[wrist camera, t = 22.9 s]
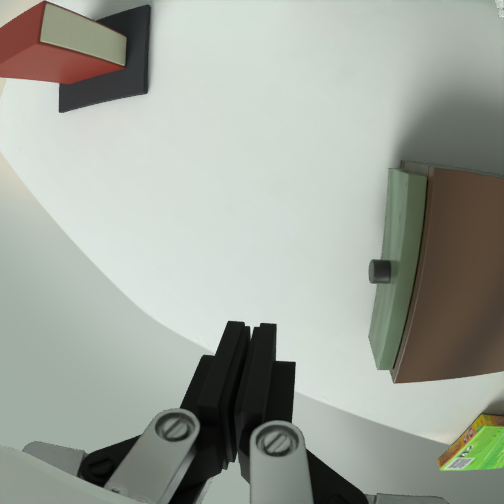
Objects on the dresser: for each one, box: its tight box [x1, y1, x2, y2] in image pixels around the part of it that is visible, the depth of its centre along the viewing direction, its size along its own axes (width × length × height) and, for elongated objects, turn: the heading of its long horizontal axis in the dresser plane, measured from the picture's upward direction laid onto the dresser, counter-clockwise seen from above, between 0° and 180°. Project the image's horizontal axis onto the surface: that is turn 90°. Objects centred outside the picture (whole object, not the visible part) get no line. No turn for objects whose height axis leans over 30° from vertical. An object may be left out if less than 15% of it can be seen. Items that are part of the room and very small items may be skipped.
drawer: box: [368, 168, 428, 370], centre depth 19 cm, size 15×13×4 cm
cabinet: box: [390, 160, 504, 383], centre depth 19 cm, size 15×15×6 cm
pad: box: [59, 5, 151, 113], centre depth 20 cm, size 9×8×1 cm
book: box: [0, 1, 127, 84], centre depth 15 cm, size 6×3×10 cm, turn 92°
